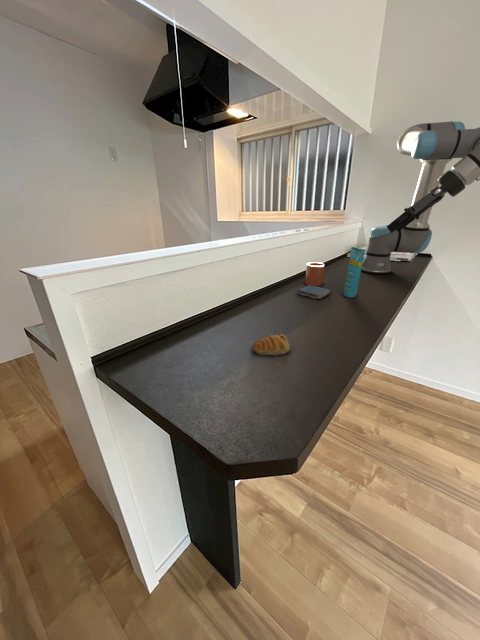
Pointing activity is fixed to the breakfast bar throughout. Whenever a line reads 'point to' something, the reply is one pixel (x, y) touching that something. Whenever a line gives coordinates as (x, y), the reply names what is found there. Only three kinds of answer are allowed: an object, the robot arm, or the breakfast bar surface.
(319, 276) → the cup
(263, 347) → the pastry
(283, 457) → the breakfast bar surface
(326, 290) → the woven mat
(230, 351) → the breakfast bar surface
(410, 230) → the robot arm
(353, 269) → the tube
